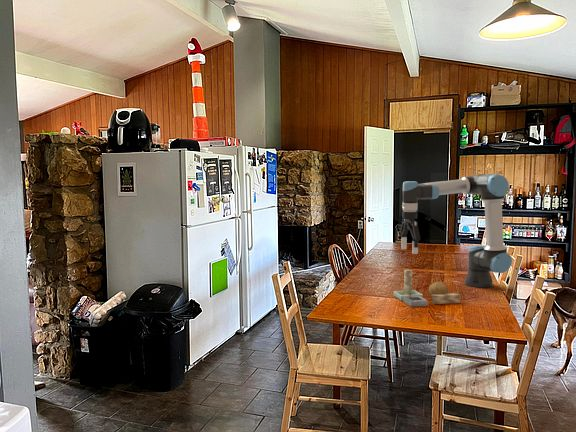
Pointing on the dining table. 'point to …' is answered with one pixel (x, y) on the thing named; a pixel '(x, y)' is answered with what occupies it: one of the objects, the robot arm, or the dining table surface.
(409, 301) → the collar
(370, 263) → the dining table surface
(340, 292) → the dining table surface
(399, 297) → the tray
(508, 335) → the dining table surface
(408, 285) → the dowel
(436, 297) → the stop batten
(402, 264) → the dining table surface
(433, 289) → the potato
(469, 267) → the robot arm
